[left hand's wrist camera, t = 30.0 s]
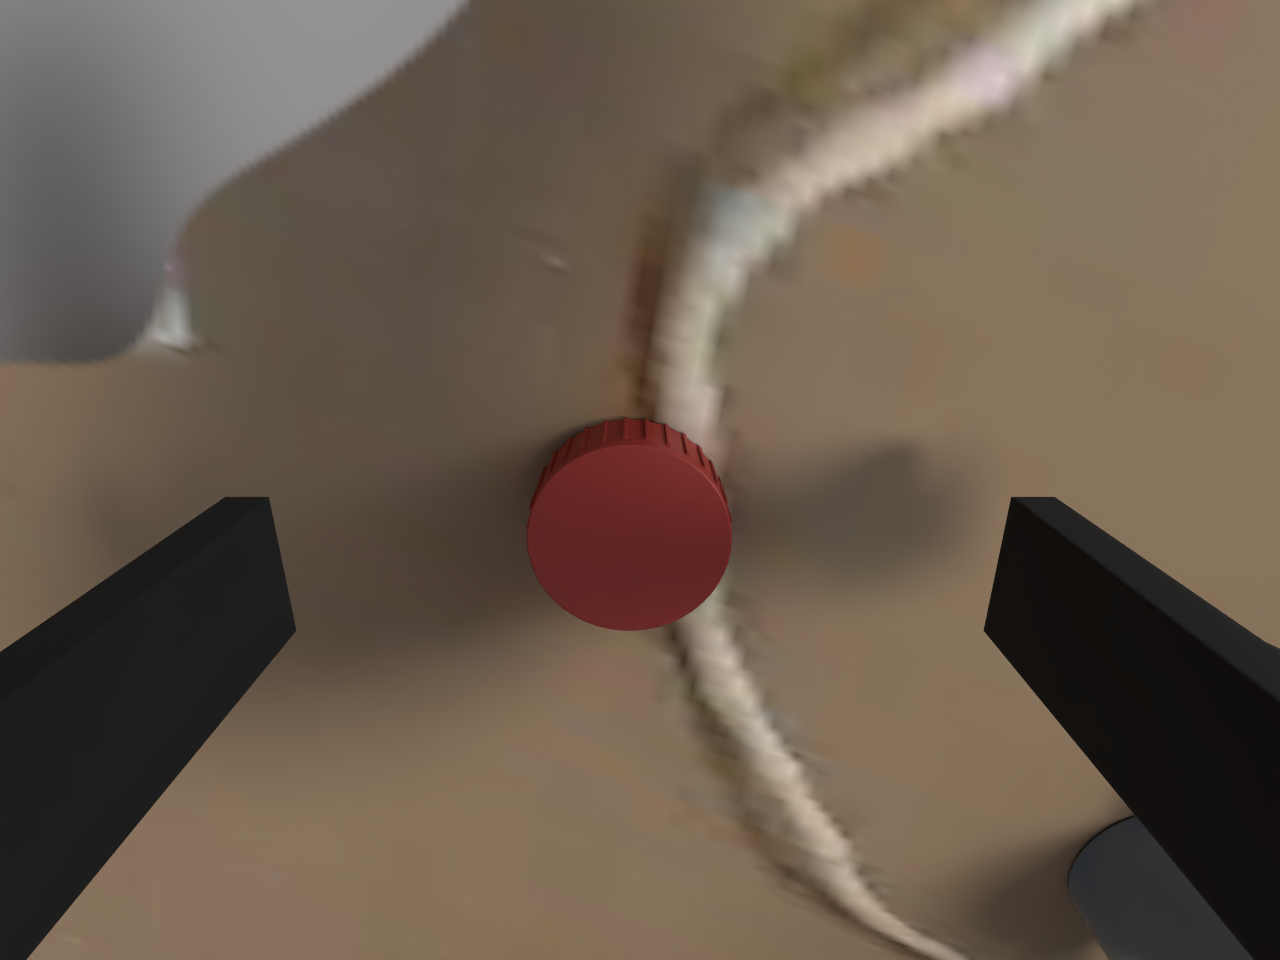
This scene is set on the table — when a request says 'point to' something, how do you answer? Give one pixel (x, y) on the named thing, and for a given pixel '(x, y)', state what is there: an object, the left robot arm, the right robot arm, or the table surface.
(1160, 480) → the table surface
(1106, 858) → the bottle
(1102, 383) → the table surface
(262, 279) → the table surface
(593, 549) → the cap
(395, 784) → the table surface
